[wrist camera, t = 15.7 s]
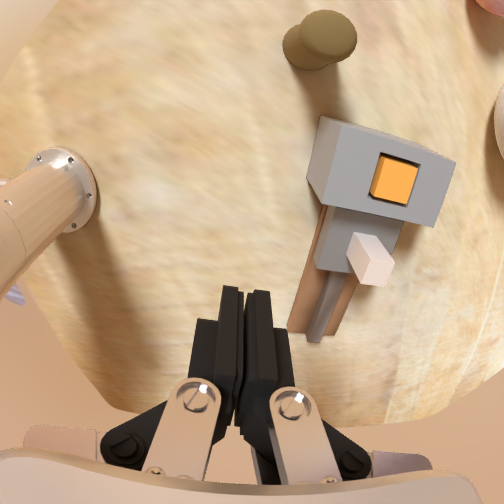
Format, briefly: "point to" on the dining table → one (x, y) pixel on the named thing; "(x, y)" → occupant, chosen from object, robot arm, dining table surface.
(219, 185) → the dining table surface
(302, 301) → the rail track
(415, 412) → the dining table surface
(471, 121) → the dining table surface
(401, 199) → the button
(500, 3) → the decorative fruit
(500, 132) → the cereal bowl
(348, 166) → the grey button housing
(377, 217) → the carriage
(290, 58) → the cork
